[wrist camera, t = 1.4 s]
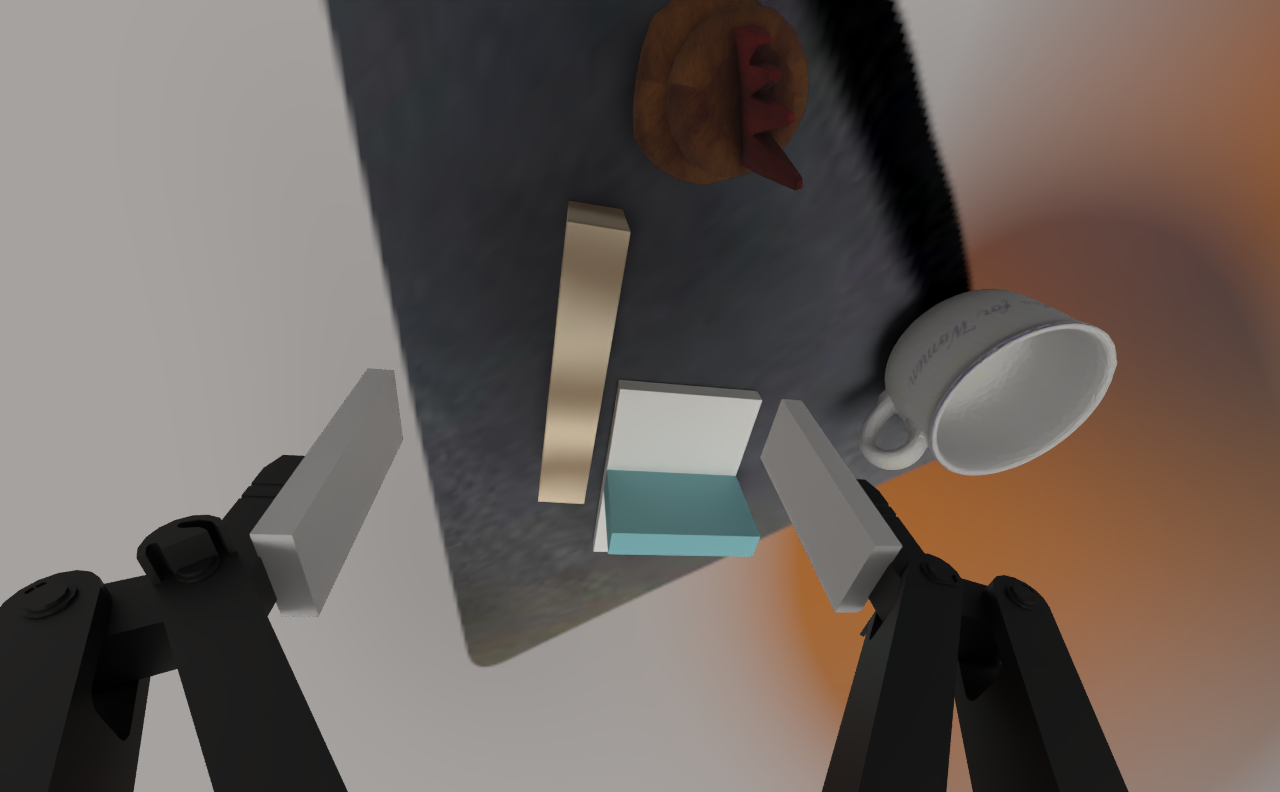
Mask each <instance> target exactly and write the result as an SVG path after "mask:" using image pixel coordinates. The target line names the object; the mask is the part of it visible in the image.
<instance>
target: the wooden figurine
mask: <svg viewBox="0 0 1280 792" xmlns="http://www.w3.org/2000/svg"><path fill="white" fill-rule="evenodd" d="M808 89H809V79H808V66H807V58H806V55H805V53H804V50H803V48H802V45H801V42H800V40H799V37H798V35H797V33H796V32H795V30H794V29H793V28H792V27H791V26H790V25H789V24H788V23H787V21H786V20H785V19H784V18H783V17H782V16H781V15H780V14H779V13H778V12H777V11H776V10H775V9H773V8H768V7H763V6H762V5H761V4H760V3H759V2H758V1H757V0H672V1H671V2H670V3H669V4H667V5H666V6H665V7H664V8H662V9H661V10H660V11H659V12H658V13H656V14H655V15H654V16H653V17H652V19H651V22H650V25H649V28H648V31H647V34H646V37H645V40H644V43H643V46H642V49H641V54H640V59H639V64H638V70H637V75H636V80H635V91H634V102H633V126H634V139H635V141H636V142H637V144H638V145H639V146H640V148H641V149H642V151H643V152H644V154H645V155H646V156H647V158H648V159H649V161H650V162H651V164H652V165H653V166H655V167H657V168H659V169H660V170H662V171H664V172H665V173H667V174H669V175H671V176H672V177H674V178H676V179H678V180H679V181H684V182H690V183H695V184H701V185H706V184H710V183H714V182H718V181H722V180H726V179H729V178H735V177H738V176H742V175H745V174H748V173H751V172H755V173H757V174H759V175H762V176H764V177H766V178H768V179H771V180H773V181H775V182H777V183H779V184H782V185H784V186H786V187H788V188H791V189H793V190H798V189H802V187H803V182H802V177H801V175H800V174H799V173H798V171H797V170H796V168H795V167H794V165H793V164H792V163H791V161H790V160H789V158H788V157H787V156H786V154H785V153H784V151H783V148H784V147H785V146H786V144H787V143H788V142H789V140H790V139H791V138H792V137H793V135H794V134H795V132H796V129H797V127H798V125H799V123H800V121H801V119H802V117H803V115H804V112H805V108H806V102H807V95H808Z"/></svg>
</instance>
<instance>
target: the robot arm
mask: <svg viewBox="0 0 1280 792" xmlns="http://www.w3.org/2000/svg"><path fill="white" fill-rule="evenodd" d="M402 440H403V436H402V428H401V420H400V413H399V405H398V398H397V390H396V382H395V375H394V370H381V369H367V370H366V372H365V373H364V375H363V376H362V377H361V379H360V380H359V382H358V383H357V384H356V386H355V387H354V389H353V390H352V391H351V393H350V394H349V395H348V397H347V398H346V400H345V401H344V403H343V404H342V405H341V407H340V408H339V409H338V411H337V412H336V414H335V415H334V417H333V418H332V419H331V421H330V422H329V423H328V425H327V426H326V428H325V429H324V431H323V432H322V433H321V435H320V436H319V438H318V439H317V440H316V442H315V443H314V445H313V446H312V447H311V449H310V450H309V451H308V453H307V454H306V456H295V455H282V456H281V457H280V458H278V459H276V460H275V461H274V462H272V463H270V464H269V465H267V466H266V467H264V468H263V469H262V471H261V472H260V473H259V474H258V476H257V477H256V478H255V480H254V481H253V482H252V485H251V486H249V487H248V488H247V489H246V491H245V492H244V493H243V494H242V498H241V499H238V501H237V502H236V503H235V504H234V506H233V507H232V508H231V509H230V511H229V512H228V513H227V514H226V516H225V517H224V518H223V520H221V519H220V518H219V517H215V516H211V515H194V516H189V517H185V518H182V519H178V520H174V521H172V522H170V523H168V524H166V525H164V526H162V527H159V528H158V529H157V530H155V531H154V532H152V533H151V534H150V535H148V536H147V537H146V538H145V539H144V540H143V542H142V543H141V545H140V546H139V547H138V550H137V560H138V561H139V563H140V565H141V567H142V568H143V570H144V572H145V573H146V575H145V576H139V577H134V578H130V579H126V580H120V581H116V582H111V583H106V584H104V583H103V582H102V580H101V579H100V578H99V577H98V576H96V575H95V574H94V573H92V572H89V571H80V570H75V571H69V572H62V573H57V574H55V575H52V576H49V577H46V578H43V579H40V580H38V581H36V582H34V583H32V584H30V585H28V586H27V587H25V588H23V589H21V590H19V591H18V592H17V593H15V594H14V595H13V596H12V597H10V598H9V599H8V600H6V601H5V602H4V603H3V604H2V606H1V607H0V792H133V791H134V784H135V778H136V771H137V764H138V757H139V749H140V744H141V737H142V730H143V723H144V717H145V710H146V703H147V696H148V689H149V683H150V676H153V675H157V674H160V673H164V672H168V671H171V670H175V669H178V672H179V675H180V678H181V682H182V685H183V688H184V692H185V695H186V699H187V702H188V705H189V709H190V712H191V716H192V719H193V722H194V725H195V729H196V732H197V736H198V739H199V742H200V746H201V749H202V753H203V756H204V759H205V763H206V766H207V769H208V773H209V776H210V779H211V783H212V786H213V790H214V792H348V791H347V789H346V787H345V785H344V783H343V780H342V778H341V776H340V774H339V772H338V769H337V767H336V765H335V763H334V761H333V759H332V756H331V754H330V752H329V750H328V748H327V746H326V743H325V741H324V739H323V737H322V735H321V732H320V730H319V728H318V726H317V724H316V721H315V719H314V717H313V715H312V713H311V711H310V708H309V706H308V704H307V702H306V700H305V697H304V695H303V693H302V691H301V689H300V687H299V684H298V682H297V680H296V678H295V676H294V674H293V671H292V669H291V667H290V665H289V663H288V660H287V658H286V656H285V654H284V652H283V649H282V647H281V645H280V643H279V641H278V639H277V636H276V634H275V632H274V630H273V628H272V626H271V623H270V621H269V619H268V617H267V616H268V614H269V613H270V611H271V609H272V608H273V606H274V604H275V603H277V606H278V608H279V610H280V613H281V616H282V617H298V616H300V617H302V616H303V617H305V616H309V617H310V616H319V614H320V612H321V610H322V608H323V606H324V604H325V602H326V599H327V598H328V595H329V593H330V591H331V589H332V587H333V585H334V583H335V581H336V579H337V577H338V574H339V572H340V570H341V568H342V566H343V564H344V562H345V560H346V558H347V556H348V553H349V551H350V549H351V547H352V545H353V543H354V541H355V539H356V537H357V535H358V532H359V530H360V528H361V526H362V524H363V522H364V520H365V518H366V516H367V514H368V511H369V509H370V507H371V505H372V503H373V501H374V499H375V497H376V495H377V493H378V491H379V489H380V487H381V484H382V482H383V480H384V478H385V476H386V474H387V472H388V470H389V468H390V466H391V463H392V461H393V459H394V457H395V455H396V453H397V451H398V449H399V447H400V445H401V443H402ZM760 458H761V460H762V462H763V464H764V466H765V468H766V470H767V472H768V475H769V477H770V479H771V481H772V483H773V485H774V487H775V489H776V491H777V493H778V495H779V497H780V499H781V501H782V504H783V506H784V508H785V510H786V512H787V514H788V516H789V518H790V520H791V522H792V524H793V526H794V528H795V530H796V533H797V535H798V537H799V539H800V541H801V543H802V545H803V547H804V549H805V551H806V553H807V555H808V557H809V560H810V561H811V564H812V566H813V568H814V570H815V572H816V574H817V576H818V578H819V580H820V582H821V584H822V586H823V588H824V591H825V593H826V595H827V597H828V599H829V601H830V603H831V605H832V607H833V609H834V611H835V612H860V611H861V610H862V608H863V607H864V605H865V603H866V602H867V600H868V599H869V600H870V601H871V603H872V605H873V607H874V608H875V610H876V611H875V612H874V614H873V615H872V617H871V618H870V620H869V621H868V623H867V624H866V626H865V627H864V629H863V630H862V632H861V633H860V635H861V636H864V635H865V634H866V636H865V640H864V644H863V647H862V651H861V654H860V658H859V661H858V665H857V669H856V672H855V676H854V679H853V683H852V686H851V690H850V693H849V697H848V701H847V704H846V708H845V711H844V715H843V719H842V722H841V725H840V729H839V733H838V736H837V740H836V743H835V747H834V751H833V754H832V757H831V761H830V765H829V768H828V772H827V775H826V779H825V782H824V786H823V790H822V792H946V789H947V777H948V766H949V754H950V742H951V730H952V719H953V708H954V697H955V702H956V707H957V712H958V718H959V723H960V728H961V733H962V738H963V743H964V748H965V753H966V758H967V764H968V769H969V774H970V779H971V784H972V789H973V792H1128V790H1127V787H1126V785H1125V783H1124V780H1123V778H1122V776H1121V773H1120V771H1119V768H1118V766H1117V764H1116V761H1115V759H1114V757H1113V755H1112V752H1111V750H1110V747H1109V745H1108V743H1107V740H1106V738H1105V736H1104V733H1103V731H1102V729H1101V726H1100V724H1099V722H1098V719H1097V717H1096V715H1095V712H1094V710H1093V708H1092V705H1091V703H1090V701H1089V698H1088V696H1087V694H1086V692H1085V689H1084V687H1083V684H1082V682H1081V680H1080V677H1079V675H1078V673H1077V671H1076V668H1075V666H1074V664H1073V661H1072V659H1071V656H1070V654H1069V652H1068V649H1067V647H1066V645H1065V642H1064V640H1063V638H1062V635H1061V633H1060V631H1059V628H1058V626H1057V624H1056V621H1055V619H1054V617H1053V614H1052V612H1051V610H1050V607H1049V606H1048V604H1047V603H1046V601H1045V600H1044V598H1043V597H1042V596H1041V595H1040V594H1039V593H1038V592H1037V591H1036V590H1035V589H1033V588H1032V587H1031V586H1029V585H1027V584H1026V583H1024V582H1022V581H1020V580H1018V579H1016V578H1014V577H1009V576H1005V575H1003V576H996V578H994V580H993V581H992V582H991V583H990V584H989V585H988V586H986V585H983V584H979V583H976V582H972V581H969V580H965V579H962V578H961V577H960V576H959V574H958V573H957V571H956V570H954V569H953V568H952V567H951V566H950V565H949V564H948V563H946V562H945V561H943V560H942V559H940V558H938V557H936V556H933V555H930V554H925V553H924V552H923V551H922V549H921V548H920V546H919V545H918V544H917V542H916V541H915V540H914V538H913V537H912V536H911V534H910V533H909V531H908V530H907V529H906V527H905V526H904V525H903V523H902V522H901V520H900V519H899V518H898V517H896V514H895V512H894V511H893V509H892V508H891V507H889V506H888V503H887V501H886V500H885V499H884V497H883V496H882V495H881V493H880V492H879V491H878V490H877V489H876V488H875V487H873V486H872V485H871V484H870V483H869V482H867V481H866V480H862V479H856V478H855V477H854V475H853V474H852V473H851V471H850V470H849V468H848V467H847V465H846V464H845V462H844V461H843V460H842V458H841V457H840V455H839V454H838V452H837V451H836V450H835V448H834V447H833V445H832V444H831V442H830V441H829V439H828V438H827V437H826V435H825V434H824V432H823V431H822V429H821V428H820V426H819V425H818V424H817V422H816V421H815V419H814V418H813V416H812V415H811V414H810V412H809V411H808V409H807V408H806V406H805V405H804V403H803V402H802V401H801V400H788V399H782V400H781V403H780V406H779V408H778V411H777V414H776V416H775V419H774V422H773V425H772V427H771V430H770V433H769V435H768V438H767V441H766V444H765V446H764V449H763V452H762V454H761V457H760Z"/></svg>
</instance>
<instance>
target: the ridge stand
mask: <svg viewBox="0 0 1280 792" xmlns="http://www.w3.org/2000/svg"><path fill="white" fill-rule="evenodd" d="M761 402H762V399H761V397H760V396H759V394H758V392H757V391H750V390H738V389H726V388H714V387H701V386H689V385H677V384H665V383H653V382H640V381H628V380H619V382H618V388H617V394H616V400H615V407H614V413H613V419H612V425H611V432H610V438H609V444H608V450H607V457H606V463H605V469H604V475H603V482H602V488H601V494H600V500H599V507H598V513H597V519H596V525H595V532H594V538H593V550H594V552H608V554H629V555H687V556H744V557H745V556H747V557H752V555H753V553H754V551H755V548H756V546H757V544H758V541H759V539H760V535H759V532H758V530H757V527H756V525H755V522H754V520H753V517H752V515H751V512H750V510H749V507H748V505H747V502H746V500H745V497H744V495H743V492H742V490H741V487H740V485H739V482H738V480H737V477H736V474H737V471H738V468H739V465H740V462H741V460H742V457H743V454H744V451H745V448H746V445H747V442H748V440H749V437H750V434H751V431H752V428H753V425H754V422H755V420H756V417H757V414H758V411H759V408H760V405H761Z"/></svg>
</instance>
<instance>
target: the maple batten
mask: <svg viewBox="0 0 1280 792" xmlns="http://www.w3.org/2000/svg"><path fill="white" fill-rule="evenodd" d="M630 233H631V232H630V229H629V226H628V223H627V220H626V218H625V215H624V212H623V210H622V209H616V208H610V207H605V206H599V205H593V204H587V203H581V202H576V201H570V200H569V201H568V211H567V221H566V230H565V240H564V250H563V259H562V269H561V279H560V288H559V298H558V308H557V318H556V327H555V337H554V347H553V356H552V366H551V376H550V385H549V395H548V405H547V414H546V424H545V434H544V443H543V453H542V464H541V475H540V487H539V498H538V501H540V502H558V503H577V504H584V500H585V494H586V488H587V483H588V477H589V471H590V465H591V459H592V454H593V448H594V442H595V436H596V430H597V424H598V419H599V413H600V407H601V401H602V395H603V390H604V384H605V378H606V372H607V366H608V361H609V355H610V349H611V343H612V337H613V332H614V326H615V320H616V314H617V308H618V302H619V297H620V291H621V285H622V279H623V273H624V268H625V262H626V256H627V250H628V244H629V239H630Z"/></svg>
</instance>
